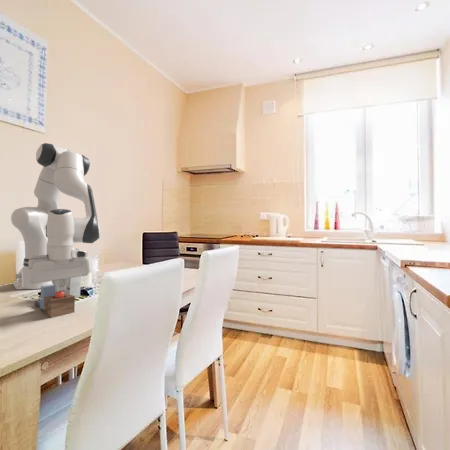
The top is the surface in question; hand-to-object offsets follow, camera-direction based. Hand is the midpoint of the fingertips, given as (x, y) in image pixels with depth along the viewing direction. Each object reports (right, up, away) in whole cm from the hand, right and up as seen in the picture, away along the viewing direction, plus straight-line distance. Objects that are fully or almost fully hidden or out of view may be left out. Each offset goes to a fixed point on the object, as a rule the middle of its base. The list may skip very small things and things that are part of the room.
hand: (60, 291), depth 108 cm
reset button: (0, -3, 0) cm, 3 cm away
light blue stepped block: (-6, -8, +3) cm, 10 cm away
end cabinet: (0, -8, 0) cm, 8 cm away
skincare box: (-8, -7, +20) cm, 23 cm away
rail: (-9, -8, +5) cm, 13 cm away
